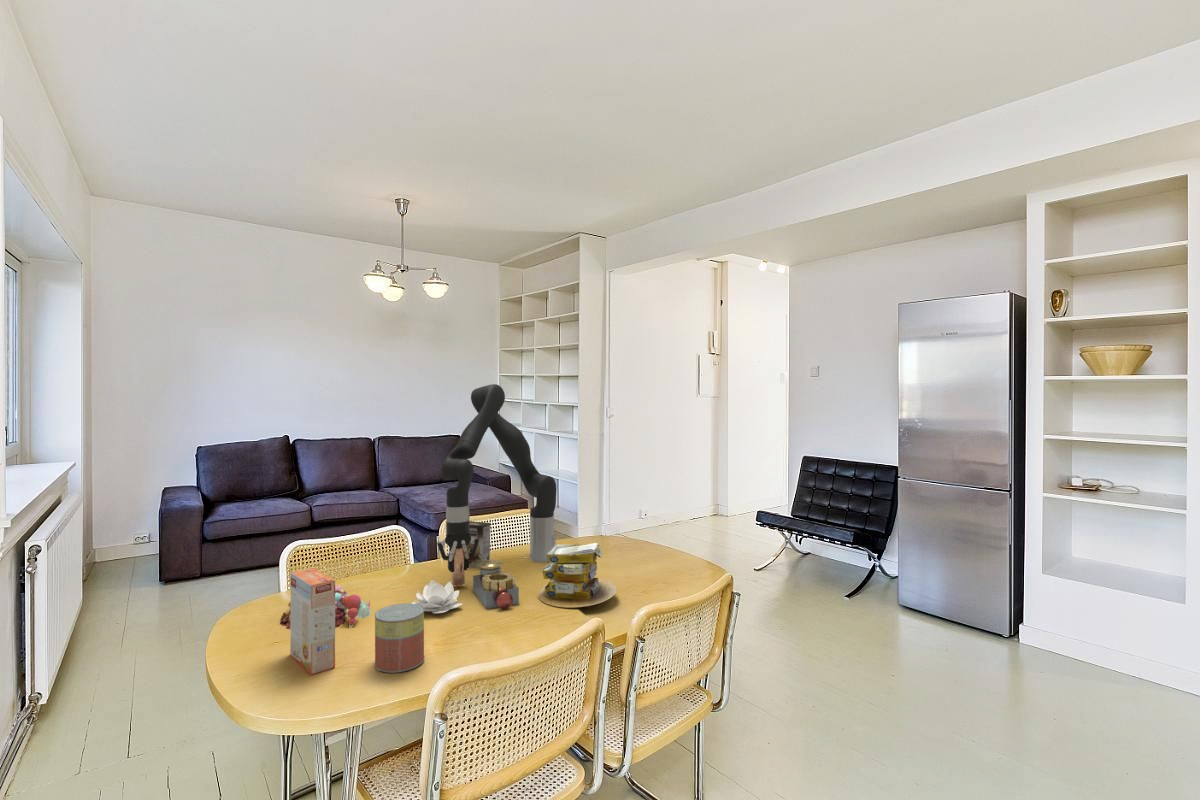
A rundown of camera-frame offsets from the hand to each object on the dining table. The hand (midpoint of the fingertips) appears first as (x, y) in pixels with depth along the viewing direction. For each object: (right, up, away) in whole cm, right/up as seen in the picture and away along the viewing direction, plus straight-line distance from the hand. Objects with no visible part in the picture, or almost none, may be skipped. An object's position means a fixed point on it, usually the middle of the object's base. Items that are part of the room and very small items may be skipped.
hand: (458, 570), depth 194 cm
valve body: (+14, -6, -10) cm, 18 cm away
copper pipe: (0, -4, 0) cm, 4 cm away
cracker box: (-22, -7, -54) cm, 58 cm away
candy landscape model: (-31, -7, -25) cm, 41 cm away
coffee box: (+1, -6, +25) cm, 25 cm away
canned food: (-1, -7, -53) cm, 54 cm away
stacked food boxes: (+43, -9, -7) cm, 45 cm away
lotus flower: (-1, -6, -20) cm, 21 cm away
